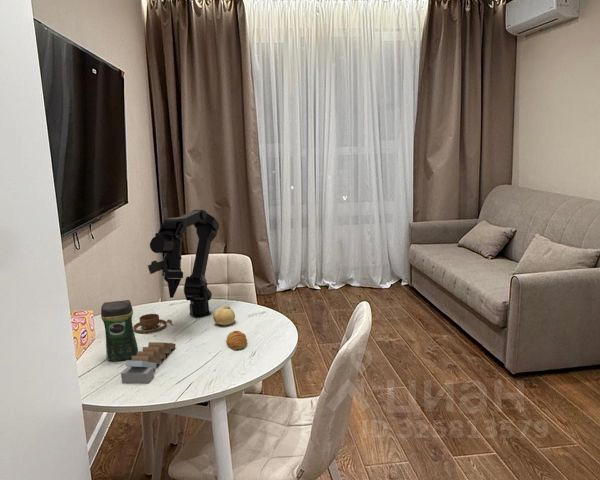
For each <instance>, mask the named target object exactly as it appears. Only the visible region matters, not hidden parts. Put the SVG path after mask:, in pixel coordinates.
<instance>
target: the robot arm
mask: <svg viewBox="0 0 600 480" xmlns="http://www.w3.org/2000/svg"><path fill="white" fill-rule="evenodd" d="M219 223H220V222H218V220H217V219H216V218H215V216H212V215H211V214H209V213H208V212H207V211H206V209H205V210H204V209H193V210H191V211H189V212H188V213H185V214H183V215H181V216H178V217H167V218H164V219H163V222H162V223H161V226H159V227H160V228H159V230H158V232H155V235H154V236H153V237H152V238H151V240H150V242H149V249H150V251H152V253H155V254H164V256H163V257H162V258H163V259H162V260H160V261H157V260H152V261H151V264H148V265H147V268H148V271H149V275H152V274H153V275H154V274H155V273H157V272H160V271H161V273H162V274H161V276H162V278H163V280H164V281H165V282H166V283H167V288H168V294H169V298H170V299H171V298H172V299H173V298H174V297H175V294H176V292H177V290H178V287H179V285H180V283H181V281H182V279H183V278H184V272H183V271H182V242H184V241H185V239H184V237H183V236H182V235H183V234H184V233H186V231H187V230H188V227H191V226H193V227H194V228H195V232H196V235H197V237H198V242H197V247H196V252H195V257H194V262H193V268H192V272H191V274H190V276H186V277H185V279H184V280H185V281H184V285H183V293H184V297H185V299H186V301H190V302H189V315H190V316H192V317H194V318H195V319H198V318H202V317H205V316H209V315H212V312H210V306H209V301H210V300H211V299H212V294H213V293H212V291H211V290H210V288H208V280H207V279H206V271H207V265H208V261H209V255H210V249H211V244H212V242H213V241H214V239H215V238H216V237H217V234H218V232H219V229H220V224H219Z"/></svg>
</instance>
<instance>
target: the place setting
mask: <svg viewBox="0 0 600 480" xmlns="http://www.w3.org/2000/svg"><path fill="white" fill-rule="evenodd" d="M172 322H173V321H172V319H167V320H164V319H160V316H159V314H158V313H148V314H143V315H141V316H139V322H136V324H134V325H133V330H134V333H136V334H137V333H138V334H152V333H153V334H154V333H157V332H160V331H162V330H164V329H165V328H166V327H167V325H168V324H170V326H174V325H173V323H172ZM159 324H161V325H163V326H160V327H157V326H158V325H159ZM139 327H142V328H143V329H145V330H141V329H139Z"/></svg>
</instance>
